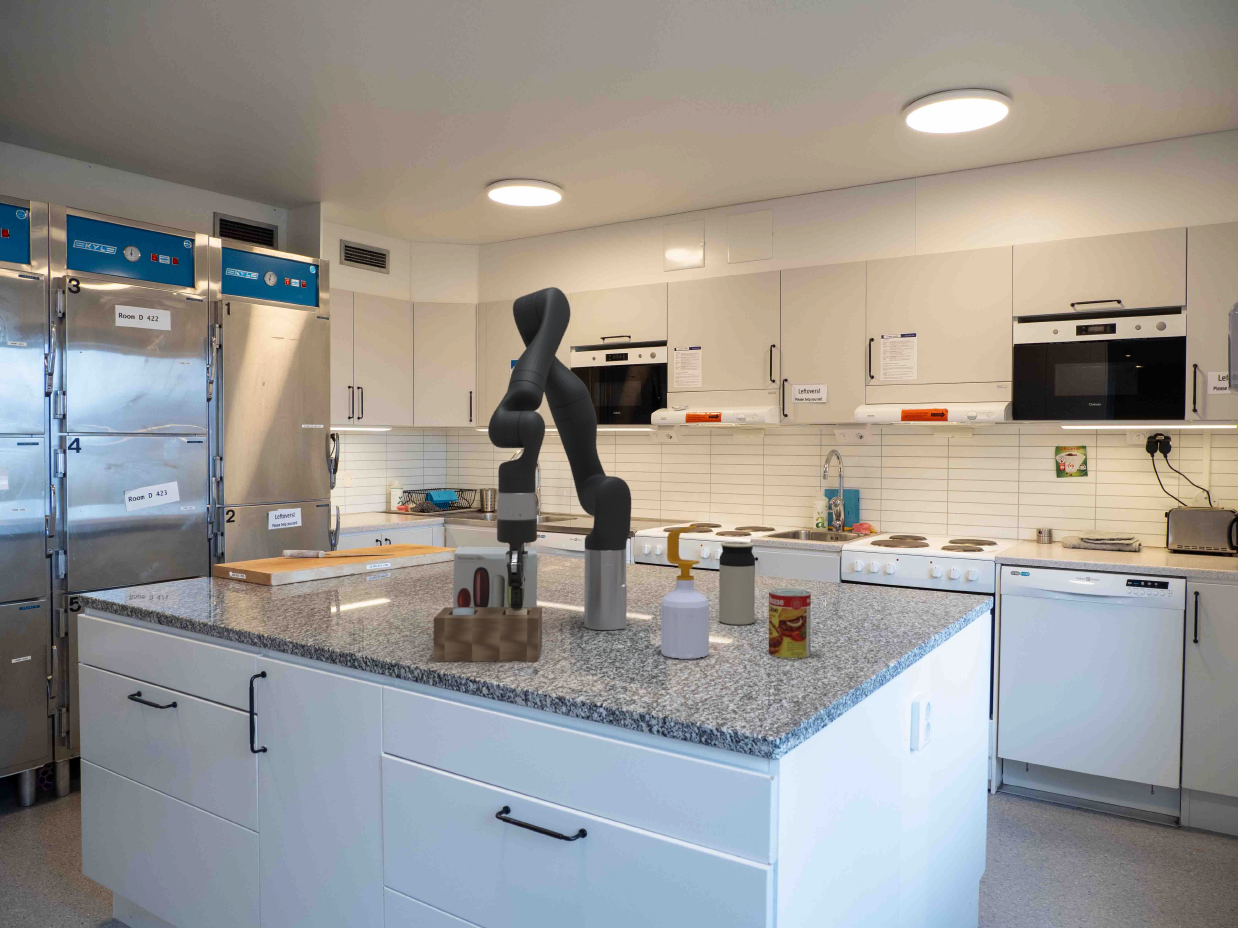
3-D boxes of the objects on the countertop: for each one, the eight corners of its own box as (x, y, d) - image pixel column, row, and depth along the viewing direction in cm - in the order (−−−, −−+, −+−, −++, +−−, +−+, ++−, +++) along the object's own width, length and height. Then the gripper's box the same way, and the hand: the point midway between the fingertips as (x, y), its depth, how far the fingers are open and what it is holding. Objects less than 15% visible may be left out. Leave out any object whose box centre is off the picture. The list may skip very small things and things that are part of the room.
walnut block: (542, 647, 164) (542, 607, 164) (537, 661, 153) (538, 617, 153) (444, 647, 164) (444, 607, 164) (433, 661, 153) (433, 617, 153)
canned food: (765, 649, 164) (766, 588, 164) (806, 649, 164) (806, 588, 164) (771, 659, 156) (772, 594, 156) (814, 659, 156) (814, 595, 156)
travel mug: (738, 627, 185) (739, 545, 185) (711, 621, 191) (712, 542, 191) (761, 622, 190) (762, 543, 190) (734, 617, 196) (735, 540, 196)
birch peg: (527, 646, 161) (527, 607, 161) (525, 651, 157) (526, 611, 157) (506, 646, 161) (507, 607, 161) (504, 651, 157) (504, 611, 157)
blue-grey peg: (475, 646, 161) (475, 607, 161) (472, 651, 157) (472, 611, 157) (454, 646, 161) (454, 607, 160) (450, 651, 157) (450, 611, 156)
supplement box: (451, 642, 169) (451, 552, 169) (456, 628, 183) (456, 545, 182) (537, 640, 171) (537, 552, 171) (536, 627, 185) (536, 545, 184)
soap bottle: (695, 662, 153) (696, 528, 153) (652, 655, 158) (652, 525, 158) (716, 652, 161) (717, 525, 161) (674, 646, 166) (675, 522, 166)
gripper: (534, 519, 152) (534, 614, 152) (539, 514, 165) (539, 601, 165) (492, 519, 152) (492, 614, 152) (501, 514, 165) (501, 602, 165)
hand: (516, 607), depth 159 cm, fingers closed
